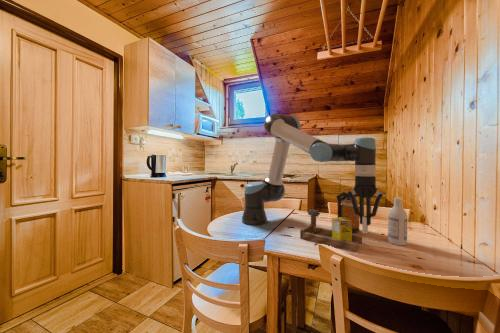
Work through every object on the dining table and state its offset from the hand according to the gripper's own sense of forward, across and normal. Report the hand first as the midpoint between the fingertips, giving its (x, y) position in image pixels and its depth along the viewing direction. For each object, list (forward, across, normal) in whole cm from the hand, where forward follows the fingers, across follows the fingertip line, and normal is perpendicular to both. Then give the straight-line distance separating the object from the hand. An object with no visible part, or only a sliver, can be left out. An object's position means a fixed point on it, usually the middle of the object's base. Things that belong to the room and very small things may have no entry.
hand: (365, 232), depth 89 cm
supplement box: (+7, -9, 0) cm, 12 cm away
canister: (+7, -12, +20) cm, 25 cm away
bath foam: (+7, +10, +16) cm, 20 cm away
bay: (+7, -16, +2) cm, 17 cm away
